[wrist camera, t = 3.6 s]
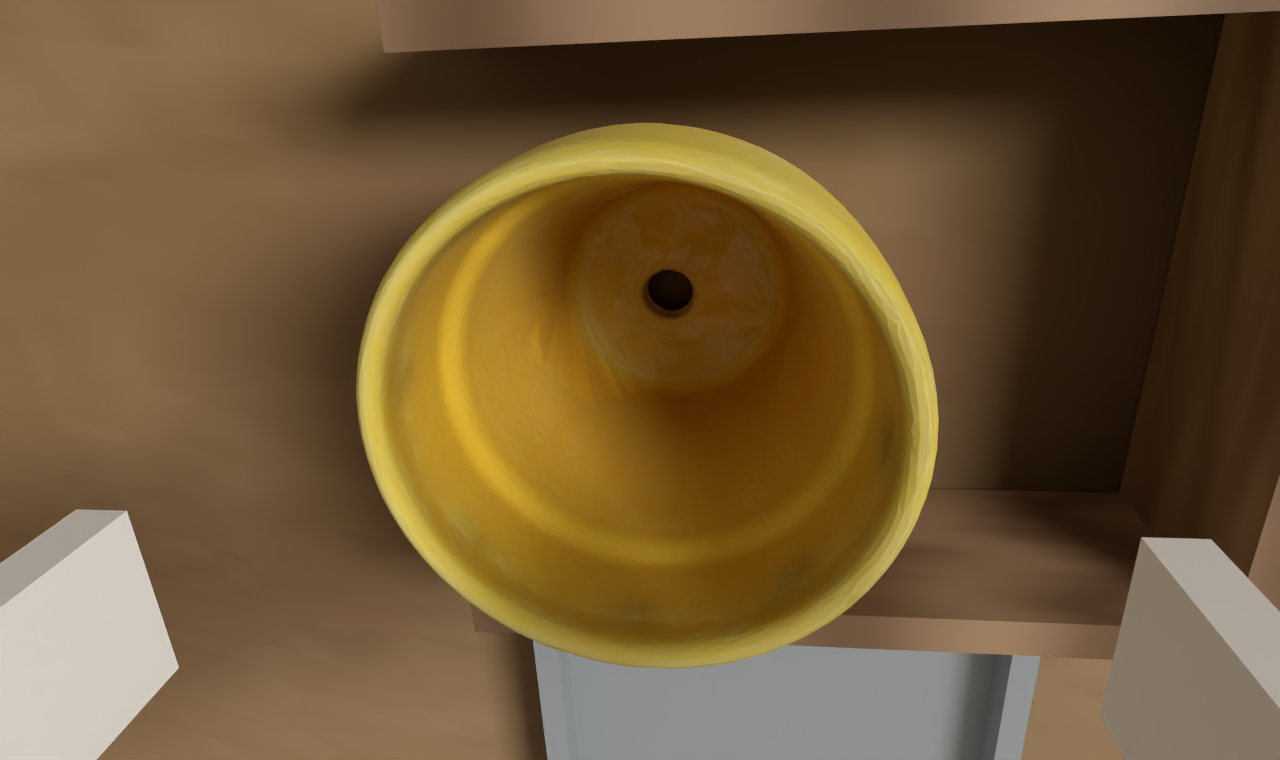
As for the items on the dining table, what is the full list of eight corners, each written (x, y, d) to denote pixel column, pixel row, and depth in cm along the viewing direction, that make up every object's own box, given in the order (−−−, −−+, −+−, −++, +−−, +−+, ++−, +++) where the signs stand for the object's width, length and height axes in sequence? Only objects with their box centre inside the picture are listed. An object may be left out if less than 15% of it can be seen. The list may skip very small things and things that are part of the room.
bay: (530, 506, 26) (475, 631, 21) (472, 3, 21) (375, -5, 15) (1148, 522, 24) (1267, 666, 19) (1284, -40, 18) (1517, -70, 13)
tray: (575, 865, 33) (566, 913, 31) (540, 550, 27) (526, 588, 25) (969, 896, 31) (983, 949, 30) (1027, 565, 25) (1050, 606, 23)
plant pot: (506, 433, 26) (380, 651, 17) (488, 86, 21) (307, 129, 12) (839, 457, 25) (895, 703, 16) (888, 98, 20) (1003, 154, 11)
